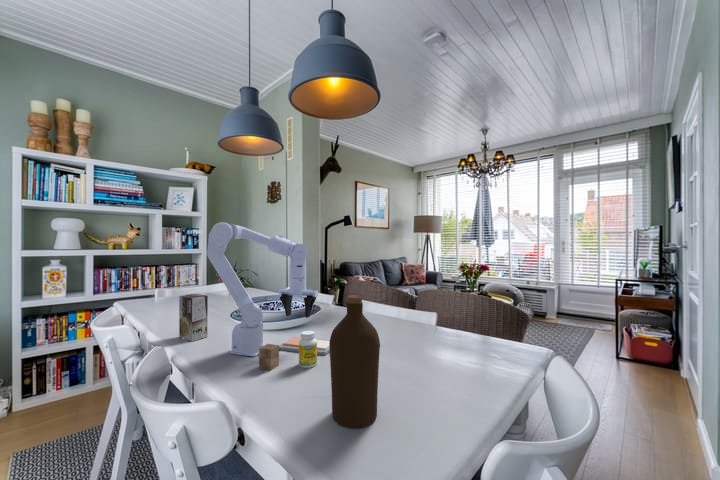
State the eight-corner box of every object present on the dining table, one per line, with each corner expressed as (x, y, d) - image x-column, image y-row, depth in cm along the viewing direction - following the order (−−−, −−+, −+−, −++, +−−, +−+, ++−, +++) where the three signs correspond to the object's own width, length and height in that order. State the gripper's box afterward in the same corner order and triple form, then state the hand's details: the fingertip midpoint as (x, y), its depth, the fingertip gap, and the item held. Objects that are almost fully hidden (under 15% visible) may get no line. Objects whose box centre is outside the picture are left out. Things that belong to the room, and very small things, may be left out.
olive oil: (355, 438, 57) (355, 303, 57) (318, 416, 64) (319, 296, 64) (390, 414, 65) (390, 296, 65) (354, 397, 72) (354, 290, 72)
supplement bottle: (312, 360, 95) (312, 329, 95) (320, 365, 90) (320, 333, 91) (295, 363, 92) (296, 331, 92) (303, 370, 87) (303, 336, 88)
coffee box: (208, 337, 118) (208, 295, 118) (191, 341, 112) (191, 297, 112) (195, 333, 122) (195, 293, 123) (178, 337, 117) (178, 295, 117)
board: (277, 349, 104) (277, 344, 104) (293, 339, 115) (293, 335, 115) (325, 355, 99) (325, 350, 99) (338, 344, 109) (338, 340, 109)
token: (259, 369, 88) (259, 348, 88) (267, 363, 92) (267, 343, 92) (271, 370, 87) (271, 349, 87) (278, 365, 91) (278, 345, 91)
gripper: (321, 277, 110) (321, 315, 110) (286, 275, 114) (286, 312, 114) (312, 279, 103) (312, 319, 103) (275, 277, 108) (275, 316, 107)
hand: (298, 316), depth 108 cm, fingers open, 7 cm apart
